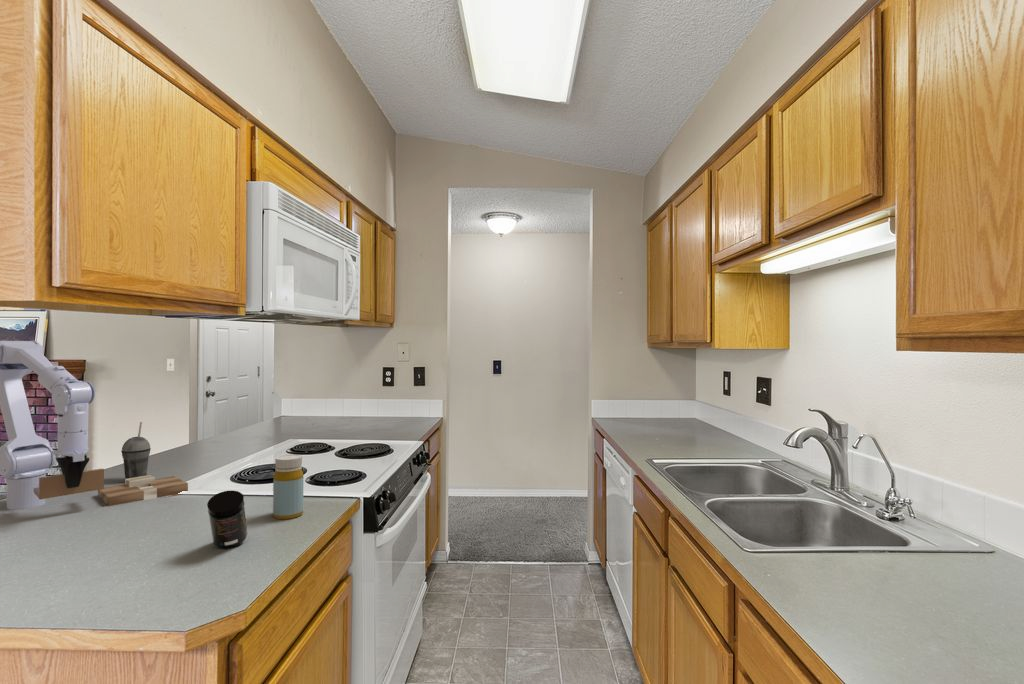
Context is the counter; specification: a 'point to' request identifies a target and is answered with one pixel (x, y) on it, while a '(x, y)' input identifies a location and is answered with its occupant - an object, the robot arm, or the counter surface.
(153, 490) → the wooden block stack
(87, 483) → the wooden l-shaped bracket
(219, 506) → the supplement container
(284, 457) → the bottle
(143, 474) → the beverage cup
